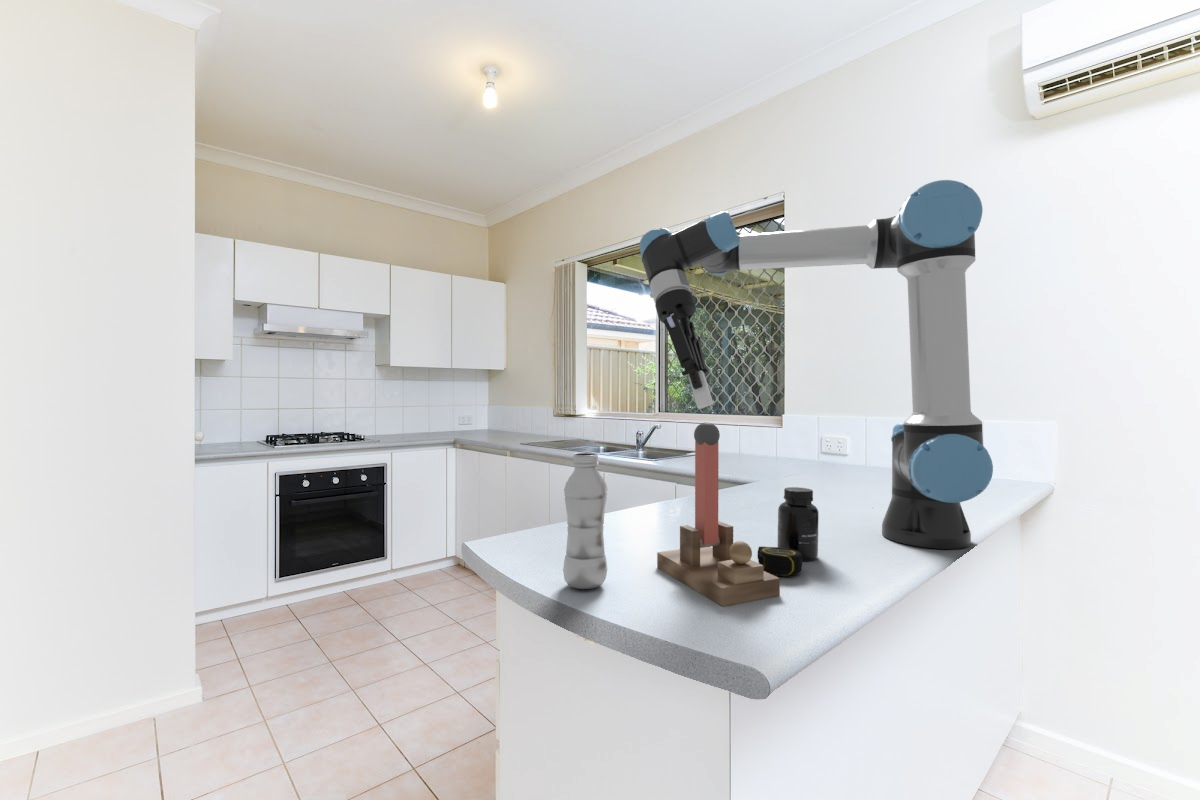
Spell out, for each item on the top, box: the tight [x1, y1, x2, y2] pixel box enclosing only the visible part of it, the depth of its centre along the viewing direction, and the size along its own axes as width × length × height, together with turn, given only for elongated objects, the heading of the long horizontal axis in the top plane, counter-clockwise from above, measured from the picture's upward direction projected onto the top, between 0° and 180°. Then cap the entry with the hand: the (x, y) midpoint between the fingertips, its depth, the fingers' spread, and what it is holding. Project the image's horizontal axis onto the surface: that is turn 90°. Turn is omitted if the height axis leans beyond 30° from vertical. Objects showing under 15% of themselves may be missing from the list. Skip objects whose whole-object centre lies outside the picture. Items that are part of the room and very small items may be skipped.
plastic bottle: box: [562, 452, 608, 590], centre depth 81 cm, size 6×7×20 cm
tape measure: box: [757, 546, 803, 577], centre depth 88 cm, size 7×7×4 cm
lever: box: [693, 422, 721, 548], centre depth 86 cm, size 4×4×20 cm
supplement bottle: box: [777, 486, 820, 562], centre depth 96 cm, size 7×7×12 cm
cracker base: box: [656, 520, 781, 607], centre depth 84 cm, size 18×10×8 cm, turn 23°
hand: (705, 405), depth 98 cm, fingers closed
